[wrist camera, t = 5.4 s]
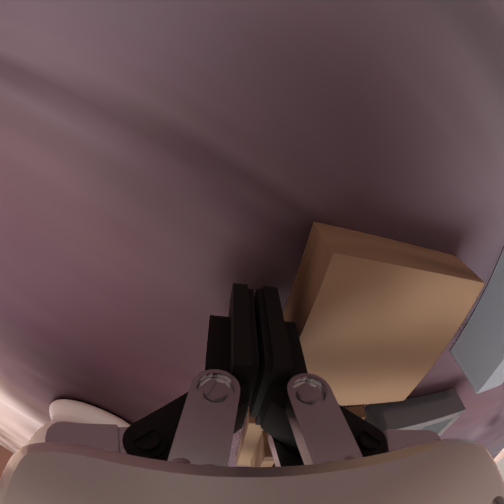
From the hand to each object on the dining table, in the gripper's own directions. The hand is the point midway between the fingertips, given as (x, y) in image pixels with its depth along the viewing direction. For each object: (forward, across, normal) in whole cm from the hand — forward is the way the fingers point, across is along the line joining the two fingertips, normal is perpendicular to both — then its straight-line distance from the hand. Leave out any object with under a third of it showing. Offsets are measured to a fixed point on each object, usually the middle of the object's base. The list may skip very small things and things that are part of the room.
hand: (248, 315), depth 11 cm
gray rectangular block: (+1, -16, 0) cm, 16 cm away
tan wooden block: (+2, -6, +1) cm, 6 cm away
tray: (+1, -14, +14) cm, 20 cm away
